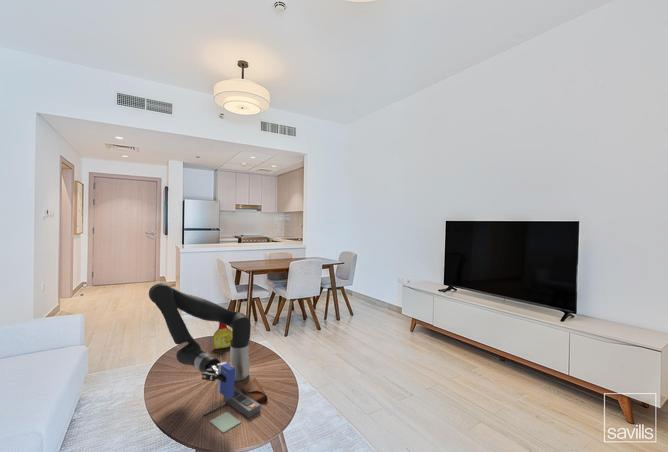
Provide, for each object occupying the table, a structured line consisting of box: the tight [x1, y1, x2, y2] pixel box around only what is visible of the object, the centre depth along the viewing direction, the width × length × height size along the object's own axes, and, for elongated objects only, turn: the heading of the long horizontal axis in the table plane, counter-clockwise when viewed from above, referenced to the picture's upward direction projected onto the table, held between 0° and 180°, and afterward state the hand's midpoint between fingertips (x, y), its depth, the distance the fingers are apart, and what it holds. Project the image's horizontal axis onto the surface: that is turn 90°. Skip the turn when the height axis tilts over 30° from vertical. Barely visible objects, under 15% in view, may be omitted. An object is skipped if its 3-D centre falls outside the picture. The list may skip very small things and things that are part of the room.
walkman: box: [216, 361, 236, 398], centre depth 123 cm, size 8×3×12 cm, turn 53°
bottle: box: [212, 322, 233, 350], centre depth 193 cm, size 12×6×20 cm, turn 120°
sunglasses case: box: [240, 377, 268, 405], centre depth 144 cm, size 18×7×7 cm
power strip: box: [202, 387, 261, 419], centre depth 132 cm, size 25×18×3 cm
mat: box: [209, 411, 242, 434], centre depth 123 cm, size 8×10×1 cm
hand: (228, 378), depth 122 cm, fingers closed on walkman, 2 cm apart
